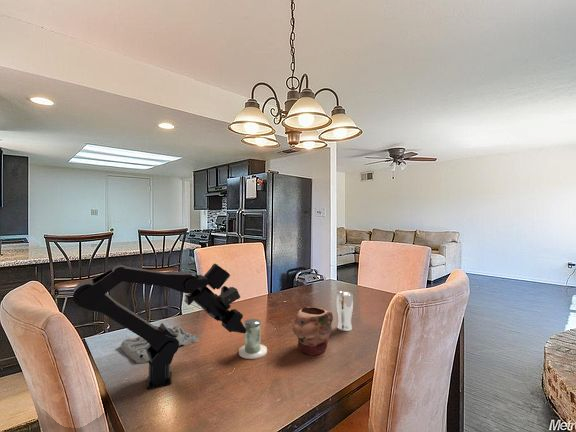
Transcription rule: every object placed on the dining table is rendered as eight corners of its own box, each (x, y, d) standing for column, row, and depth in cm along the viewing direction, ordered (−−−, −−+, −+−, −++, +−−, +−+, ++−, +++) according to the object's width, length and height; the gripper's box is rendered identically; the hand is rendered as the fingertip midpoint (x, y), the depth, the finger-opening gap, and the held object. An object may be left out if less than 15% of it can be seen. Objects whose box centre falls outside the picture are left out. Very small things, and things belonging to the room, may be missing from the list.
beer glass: (356, 328, 123) (356, 293, 123) (347, 333, 118) (347, 296, 118) (342, 323, 128) (342, 290, 128) (333, 328, 123) (333, 293, 122)
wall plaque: (140, 366, 93) (140, 354, 93) (118, 348, 105) (118, 338, 105) (203, 342, 110) (203, 332, 110) (178, 329, 123) (179, 320, 123)
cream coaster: (270, 355, 99) (270, 353, 99) (242, 361, 95) (242, 359, 95) (262, 343, 108) (262, 341, 108) (236, 348, 104) (236, 346, 104)
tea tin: (260, 353, 99) (260, 324, 99) (243, 353, 99) (243, 325, 98) (261, 345, 104) (261, 318, 104) (245, 346, 104) (245, 318, 104)
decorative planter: (317, 334, 117) (317, 300, 116) (343, 343, 108) (343, 306, 108) (284, 351, 102) (284, 312, 102) (311, 363, 94) (311, 321, 94)
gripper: (237, 286, 88) (267, 315, 94) (215, 275, 103) (242, 301, 109) (212, 317, 83) (246, 345, 90) (192, 301, 99) (223, 326, 105)
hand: (239, 327), depth 98 cm, fingers open, 9 cm apart
